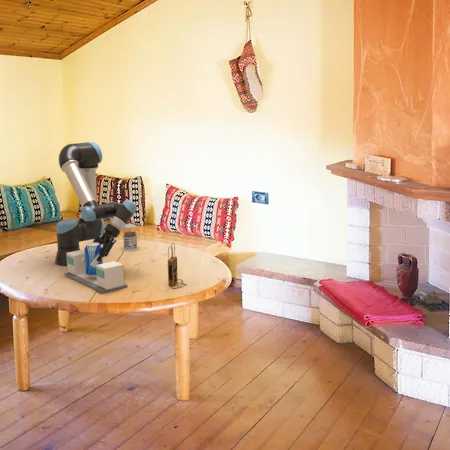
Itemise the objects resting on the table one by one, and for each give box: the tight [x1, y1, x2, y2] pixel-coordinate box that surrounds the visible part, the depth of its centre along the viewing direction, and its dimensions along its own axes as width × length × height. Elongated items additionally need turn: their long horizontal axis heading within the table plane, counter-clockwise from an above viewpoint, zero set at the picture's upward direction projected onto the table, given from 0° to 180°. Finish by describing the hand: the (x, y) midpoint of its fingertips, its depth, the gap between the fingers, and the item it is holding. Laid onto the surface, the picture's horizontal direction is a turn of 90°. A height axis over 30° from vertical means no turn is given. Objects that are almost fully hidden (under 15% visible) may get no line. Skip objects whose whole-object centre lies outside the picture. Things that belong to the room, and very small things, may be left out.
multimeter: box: [167, 243, 189, 289], centre depth 316 cm, size 15×10×20 cm
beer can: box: [83, 241, 104, 277], centre depth 321 cm, size 8×8×16 cm
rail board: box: [63, 249, 128, 294], centre depth 322 cm, size 38×14×12 cm, turn 41°
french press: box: [121, 219, 140, 252], centre depth 380 cm, size 10×12×25 cm
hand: (88, 264), depth 320 cm, fingers closed on beer can, 8 cm apart
